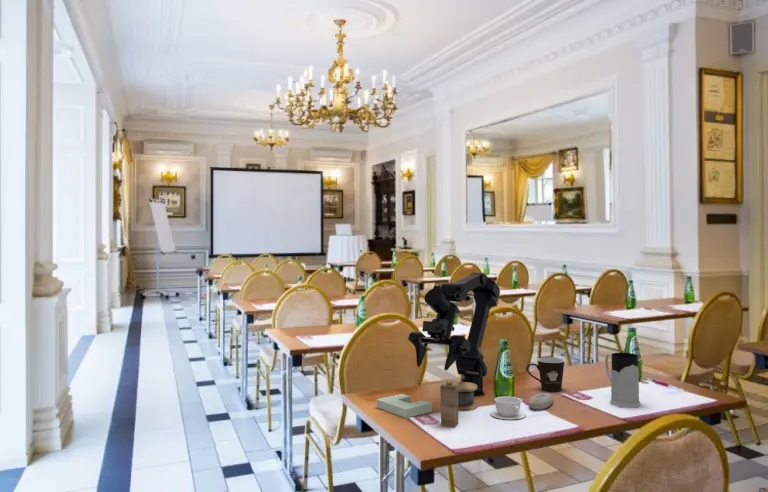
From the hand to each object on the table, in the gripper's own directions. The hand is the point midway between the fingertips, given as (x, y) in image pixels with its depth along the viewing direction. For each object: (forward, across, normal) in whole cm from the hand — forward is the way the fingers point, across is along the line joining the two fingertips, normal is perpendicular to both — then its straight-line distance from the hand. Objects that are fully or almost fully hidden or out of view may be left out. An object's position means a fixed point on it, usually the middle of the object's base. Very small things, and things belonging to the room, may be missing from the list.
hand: (431, 368), depth 172 cm
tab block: (+15, +9, +2) cm, 17 cm away
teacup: (+6, +19, +16) cm, 26 cm away
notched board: (+12, -9, +6) cm, 16 cm away
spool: (+5, +4, +16) cm, 18 cm away
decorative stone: (-2, +24, +29) cm, 38 cm away
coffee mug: (-13, +19, +45) cm, 50 cm away
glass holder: (-11, +43, +42) cm, 62 cm away
